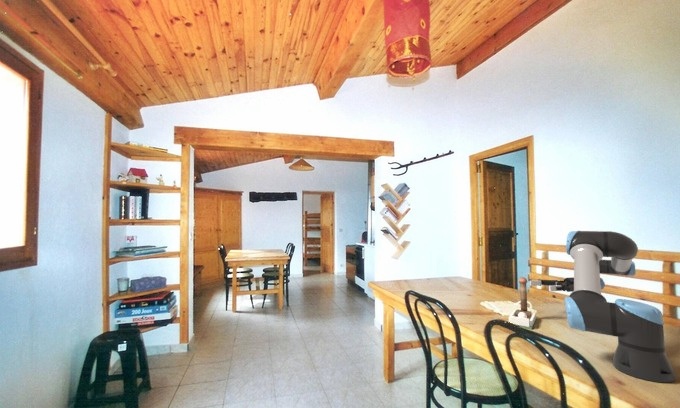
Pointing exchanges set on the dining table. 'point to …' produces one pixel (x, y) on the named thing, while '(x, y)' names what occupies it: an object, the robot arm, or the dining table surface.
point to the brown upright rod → (523, 298)
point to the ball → (522, 315)
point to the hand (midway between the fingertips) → (539, 285)
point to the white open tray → (522, 320)
